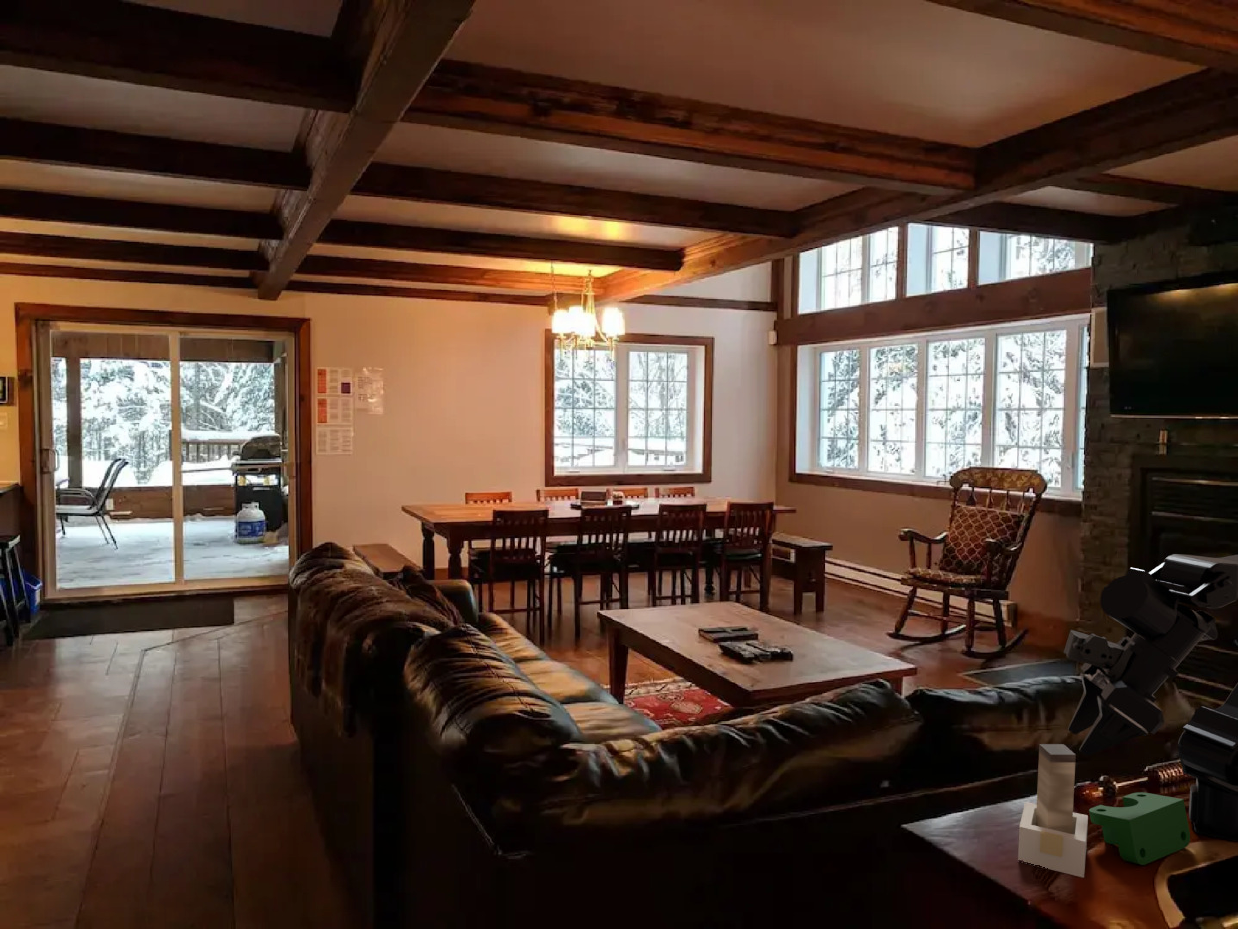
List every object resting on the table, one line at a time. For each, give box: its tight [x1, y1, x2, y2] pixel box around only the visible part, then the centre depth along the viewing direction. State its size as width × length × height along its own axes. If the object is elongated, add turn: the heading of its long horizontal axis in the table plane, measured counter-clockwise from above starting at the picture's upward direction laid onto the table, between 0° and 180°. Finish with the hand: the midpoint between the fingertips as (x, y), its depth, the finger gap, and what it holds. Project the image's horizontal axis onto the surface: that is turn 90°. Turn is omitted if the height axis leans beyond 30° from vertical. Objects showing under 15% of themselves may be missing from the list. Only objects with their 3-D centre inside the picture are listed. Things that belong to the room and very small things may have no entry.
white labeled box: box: [1017, 801, 1089, 878], centre depth 108 cm, size 7×8×5 cm
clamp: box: [1088, 792, 1191, 866], centre depth 111 cm, size 12×6×9 cm, turn 112°
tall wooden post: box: [1036, 743, 1077, 834], centre depth 108 cm, size 3×3×13 cm
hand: (1076, 742), depth 111 cm, fingers open, 9 cm apart
